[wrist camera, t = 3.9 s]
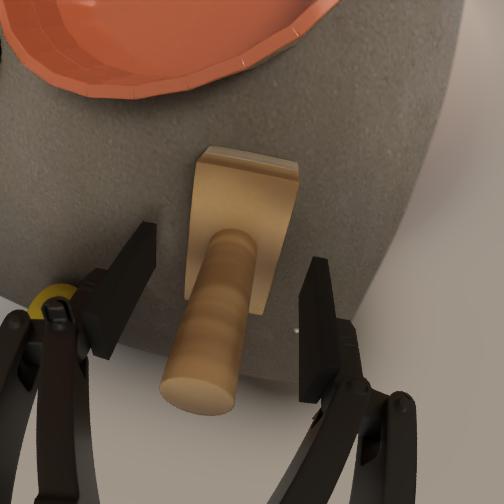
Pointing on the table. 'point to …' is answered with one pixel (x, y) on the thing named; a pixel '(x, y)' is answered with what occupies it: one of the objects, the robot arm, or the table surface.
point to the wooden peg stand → (227, 271)
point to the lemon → (47, 293)
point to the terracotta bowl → (151, 41)
